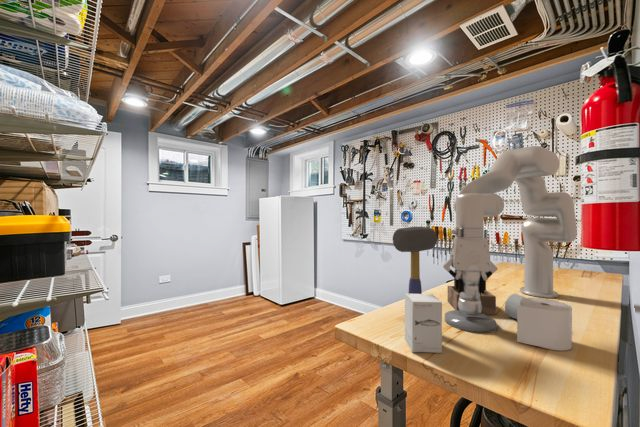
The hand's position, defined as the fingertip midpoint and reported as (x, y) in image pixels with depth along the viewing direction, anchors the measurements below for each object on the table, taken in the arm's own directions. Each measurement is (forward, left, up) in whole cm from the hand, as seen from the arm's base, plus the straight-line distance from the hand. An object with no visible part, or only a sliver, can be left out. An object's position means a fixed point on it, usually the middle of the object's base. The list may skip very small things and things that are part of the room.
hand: (469, 291), depth 86 cm
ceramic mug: (-5, +18, -10) cm, 22 cm away
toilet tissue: (+10, +15, -10) cm, 21 cm away
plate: (0, 0, -10) cm, 10 cm away
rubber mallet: (+6, -17, -10) cm, 21 cm away
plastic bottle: (0, 0, -7) cm, 7 cm away
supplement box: (+18, -17, -10) cm, 27 cm away
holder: (-15, +5, -10) cm, 18 cm away
